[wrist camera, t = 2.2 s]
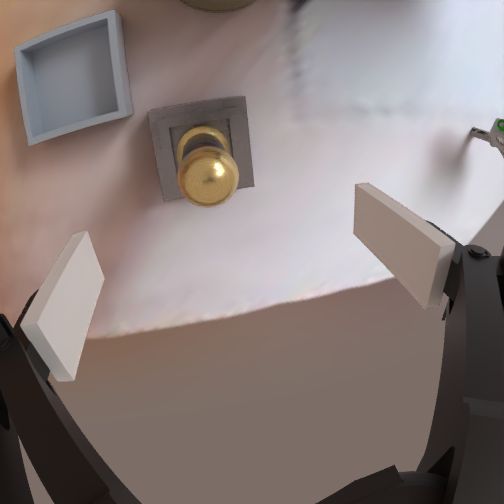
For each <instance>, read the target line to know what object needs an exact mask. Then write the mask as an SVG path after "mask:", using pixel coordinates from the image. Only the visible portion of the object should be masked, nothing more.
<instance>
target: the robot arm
mask: <svg viewBox="0 0 504 504" xmlns="http://www.w3.org/2000/svg"><path fill="white" fill-rule="evenodd" d="M353 234H354V235H355V236H356V237H357V238H358V239H359V240H360V241H361V242H362V243H363V244H364V245H365V246H366V247H367V248H368V249H369V250H370V251H371V252H372V253H373V254H374V255H375V256H376V257H377V258H378V259H379V260H380V261H381V262H382V263H383V264H384V265H385V266H386V267H387V268H388V270H389V271H390V272H391V273H392V274H393V275H394V276H395V277H396V278H397V279H398V280H399V281H400V282H401V283H402V284H403V286H404V287H405V288H406V289H407V290H408V291H409V292H410V293H411V294H412V296H413V297H414V298H415V299H416V300H417V301H418V302H419V303H420V304H421V306H422V307H423V308H424V309H425V310H427V309H430V308H432V307H435V306H438V305H440V302H441V299H442V295H443V292H444V293H445V294H446V295H447V296H448V297H449V299H448V303H447V306H446V309H445V312H444V315H443V318H442V320H445V318H446V325H445V338H444V349H443V358H442V367H441V374H440V381H439V388H438V394H437V401H436V406H435V411H434V416H433V421H432V426H431V430H430V435H429V439H428V443H427V447H426V451H425V453H424V456H423V458H422V460H421V462H420V464H419V466H418V468H417V470H416V472H415V471H410V472H398V471H397V469H396V467H395V465H393V466H391V467H389V468H386V469H384V470H381V471H379V472H376V473H374V474H371V475H369V476H366V477H364V478H361V479H358V480H355V481H353V482H352V483H350V484H349V485H347V486H345V487H344V488H342V489H341V490H339V491H337V492H336V493H334V494H332V495H330V496H329V497H327V498H325V499H323V500H322V501H320V502H318V503H316V504H504V247H503V250H502V253H501V256H491V254H490V253H489V252H488V251H487V250H486V249H484V248H482V247H479V246H476V245H465V246H463V245H462V244H460V243H459V242H458V241H456V240H455V239H454V238H452V237H451V236H450V235H448V234H446V232H444V231H443V230H440V228H439V227H437V226H436V225H435V224H433V223H431V222H429V221H426V220H424V219H422V218H421V217H419V216H418V215H417V214H415V213H414V212H412V211H411V210H409V209H408V208H406V207H405V206H403V205H402V204H400V203H399V202H397V201H396V200H394V199H393V198H391V197H390V196H388V195H387V194H385V193H384V192H382V191H381V190H379V189H377V188H376V187H374V186H373V185H371V184H370V183H361V184H355V207H354V231H353ZM104 279H105V278H104V276H103V273H102V271H101V268H100V265H99V263H98V260H97V257H96V254H95V252H94V249H93V246H92V243H91V240H90V237H89V234H88V231H83V232H79V233H74V234H73V236H72V237H71V239H70V240H69V242H68V243H67V245H66V246H65V248H64V249H63V251H62V252H61V254H60V255H59V257H58V259H57V260H56V262H55V264H54V265H53V267H52V268H51V270H50V272H49V273H48V275H47V277H46V278H45V280H44V282H43V284H42V285H41V287H40V289H39V290H37V291H36V292H35V293H34V294H33V295H32V296H31V297H30V298H29V300H28V302H27V304H26V305H25V307H24V309H23V311H22V314H21V315H20V316H19V318H18V320H17V322H16V324H15V326H14V328H12V326H11V325H10V323H9V321H8V320H7V318H6V316H5V315H4V314H0V504H34V501H33V498H32V494H31V491H30V487H29V484H28V480H27V476H26V472H25V468H24V464H23V459H22V454H21V450H20V444H19V438H20V440H21V442H22V444H23V447H24V449H25V451H26V453H27V455H28V457H29V459H30V461H31V463H32V465H33V467H34V469H35V470H36V473H37V474H38V476H39V478H40V480H41V482H42V483H43V485H44V487H45V489H46V490H47V492H48V494H49V495H50V497H51V499H52V500H53V502H54V503H55V504H142V503H141V502H140V501H139V500H138V499H137V498H136V497H135V496H134V495H133V494H132V493H131V492H130V491H129V490H128V488H127V487H126V486H125V485H124V484H123V483H122V482H121V481H120V479H119V478H118V477H117V476H116V475H115V474H114V472H113V471H112V470H111V469H110V468H109V466H108V465H107V464H106V463H105V462H104V461H103V459H102V458H101V456H100V455H99V454H98V453H97V452H96V450H95V449H94V448H93V446H92V445H91V444H90V442H89V441H88V439H87V438H86V437H85V435H84V434H83V432H82V431H81V430H80V428H79V427H78V425H77V424H76V422H75V421H74V419H73V418H72V416H71V415H70V413H69V412H68V410H67V409H66V407H65V406H64V404H63V403H62V401H61V400H60V398H59V396H58V395H57V393H56V391H55V390H54V388H53V386H52V385H51V383H50V382H49V381H48V380H47V379H48V376H49V372H51V373H52V375H53V376H54V377H55V379H56V380H57V381H58V382H60V381H74V380H75V376H76V372H77V368H78V364H79V360H80V357H81V353H82V349H83V346H84V342H85V339H86V335H87V332H88V328H89V325H90V322H91V318H92V315H93V312H94V309H95V306H96V303H97V300H98V297H99V294H100V291H101V288H102V285H103V282H104ZM18 436H19V438H18Z"/></svg>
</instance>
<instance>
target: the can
mask: <svg viewBox="0 0 504 504" xmlns="http://www.w3.org/2000/svg"><path fill="white" fill-rule="evenodd" d="M180 1H182V2H183V3H185V4H186V5H188V6H190V7H192V8H195V9H198V10H201V11H206V12H217V13H219V12H230V11H234V10H238V9H241V8H244V7H246V6H248V5H250V4H251V3H253V2H254V1H256V0H180Z"/></svg>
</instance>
